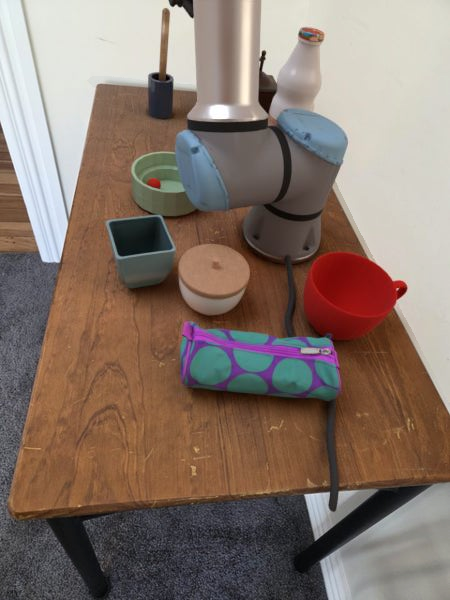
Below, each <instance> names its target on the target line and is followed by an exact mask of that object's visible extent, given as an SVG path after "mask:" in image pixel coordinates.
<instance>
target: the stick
mask: <svg viewBox="0 0 450 600" xmlns="http://www.w3.org/2000/svg"><path fill="white" fill-rule="evenodd" d="M170 21H171V11H170V9H169V8H168V7H164V8H163V9H162V10H161V26H160V27H161V29H160V42H159V43H160V44H159V62H158V63H159V64H158V65H159V66H158V72H159V81H166V73H167V68H168V55H169V54H168V51H169V36H170Z"/></svg>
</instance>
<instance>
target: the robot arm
mask: <svg viewBox="0 0 450 600" xmlns="http://www.w3.org/2000/svg"><path fill="white" fill-rule="evenodd" d="M168 3H169V6H170V7H172V8H174V7H175V6H177V7H178V8H183V9H184V11H185V12H186V13H187V15H188V16H189V17H190V18H191V19H192V20H193V28H194V29H193V33H194V54H195V55H194V56H195V57H194V58H195V59H194V61H195V81H196V103H195V105H194V106H193V107H192V108H191V110H190V111H189V112H188V113H187V115H186V122H187V125H186V126H187V129H183V130H182V131H180V132H178V134H177V135H176V137H175V145H174V152H175V156H176V163H177V168H178V172H179V176H180V179H181V182H182V185H183V188H184V190H185V192H186V194H187V196H188V198H189V200H190V201H191V203H192V204H193V205H194V206H195V207H196V208H197V209H196V210H199V211H200V212H205V213H208V212H218V211H219V212H220V211H221V212H228V211H229V210H235V209H241V208H249V207H251V208H250V210H249V211H248V213H247V214H246V216H245V217H244V220H243V223H242V227H241V237H242V240H243V242H244V243H245V245H246V246H247V248H248V249H249V250H250V251H251V252H253V254H255V255H256V256H258V257H259V258H262V259H264V260H266V261H268V262H270V263H271V262H272V263H275V264H280V265H285V267H286V269H285V270H286V276H287V281H288V293H289V295H288V297H289V298H288V303H287V307H286V312H285V315H284V328H285V331H286V334H287V338H292V337H296V335H295V333H294V331H293V327H292V316H293V312H294V308H295V304H296V286H295V279H294V272H293V265H298V264H302V263H305V262H308V261H309V260H311V259H312V258H313V257H314V256H315V255H316V254H317V251H318V249H319V247H320V243H321V239H322V213H323V211H324V208H325V206H326V204H327V201H328V198H329V196H330V193H331V191H332V189H333V186H334V184H335V181H336V180H337V176H338V174H339V172H340V170H341V167H342V165H343V164H344V158H345V155H346V151H347V149H348V144H349V140H348V136H347V134H346V132H345V130H344V129H343V128H342V127H341V126H339V124H337V123H336V122H335V121H333V120H331V119H329V118H328V117H325V116H324V115H322V114H320V113H318V112H315V111H314V112H311V111H308V110H304V109H298V108H288V109H285V110H283V111H282V112H281V113H280V114H279V116H278V117H277V120H276V121H277V124H276V125H274V126H268V114H267V113H266V112H265V110H264V109H263V108H262V107H261V106H260V104H259V102H258V91H259V67H260V62H259V60H260V57H261V26H262V23H261V22H262V0H168ZM327 406H328V407H327V408H328V409H327V416H326V417H327V418H326V430H325V433H326V450H327V458H328V468H329V484H330V485H329V496H328V497H329V499H328V509H329V511H330V512H332V513H335V512H337V507H338V503H339V502H338V501H339V494H340V493H339V491H340V479H339V478H340V477H339V466H338V459H337V453H336V446H335V445H336V444H335V421H336V410H337V397H336V398H334V399H332V400H330V401H328V405H327Z"/></svg>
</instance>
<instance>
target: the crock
mask: <svg viewBox="0 0 450 600" xmlns="http://www.w3.org/2000/svg"><path fill="white" fill-rule="evenodd" d="M174 80H175V79H174V76H172V75H171V74H169V73H167V72H166V81H159V71H154V72H151V73H148V75H147V97H148V98H147V100H148V101H147V104H148V105H147V106H148V107H147V109H148V115H149V116H150V117H152V118H153V119H157V120H168V119H170V118H171V117H172V116H173V107H174V105H173V104H174V83H175V82H174Z"/></svg>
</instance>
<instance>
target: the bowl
mask: <svg viewBox="0 0 450 600" xmlns="http://www.w3.org/2000/svg"><path fill="white" fill-rule="evenodd" d="M130 172H131V191H132V192H131V193H132V195H131V196H132V198H133V199H134V202H135V204H137V205H138V206H139V207H141V209H142V210H144V211H147V212H149V213H151V214H153V215H161V216H162V217H178V216H184V215H187V214H190V213H192V212H194V211H196V210H198V209H197V208H196V207H195V206H194V205H193V204H192V203H191V201H190V200H189V198H188V196H187V194H186V192H185V190H184V188H183V185H182V182H181V179H180V176H179V172H178V168H177V163H176V156H175V151H154V152H149V153H146V154H143V155H141V156H139V157H138V158H136V159H135V160H134V161H133V163H132V164H131V171H130ZM151 178H156V179H158V180H159V181H160V183H161V188H160V189H156V188H153V187H151V186H148V185H147V182H148V180H149V179H151Z"/></svg>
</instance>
